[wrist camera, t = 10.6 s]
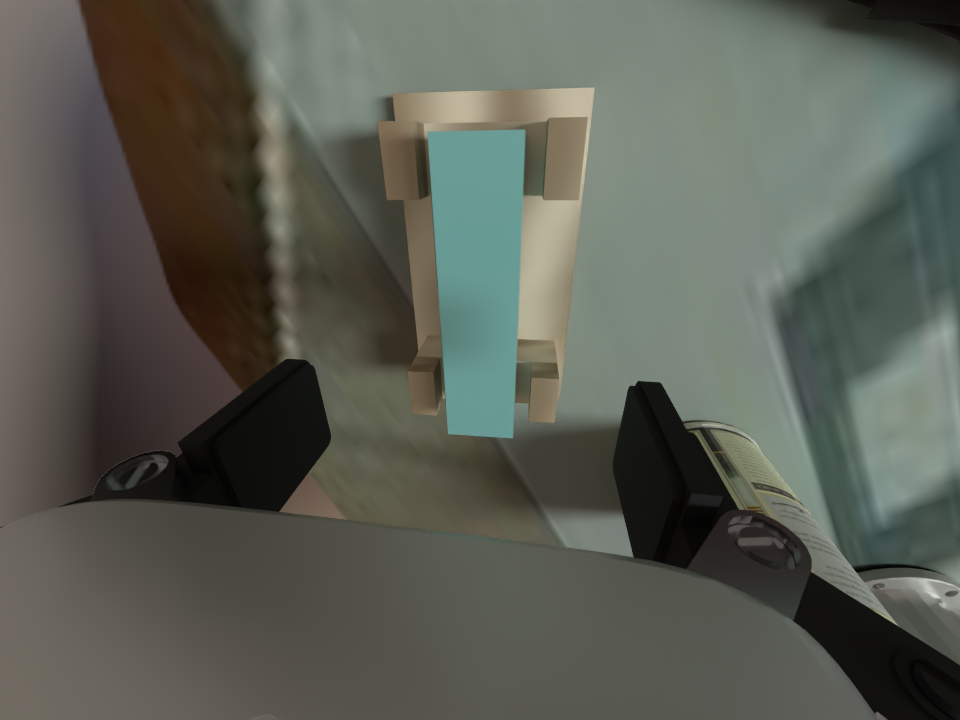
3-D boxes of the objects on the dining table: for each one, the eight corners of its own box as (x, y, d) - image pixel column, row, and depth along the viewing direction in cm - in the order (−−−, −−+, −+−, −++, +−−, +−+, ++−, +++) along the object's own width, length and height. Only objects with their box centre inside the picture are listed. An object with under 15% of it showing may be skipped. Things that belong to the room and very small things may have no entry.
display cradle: (591, 90, 19) (614, 68, 14) (558, 390, 27) (565, 443, 22) (398, 96, 20) (353, 77, 15) (425, 382, 29) (403, 432, 24)
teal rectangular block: (525, 134, 17) (525, 129, 13) (515, 395, 23) (512, 438, 20) (445, 135, 17) (423, 131, 14) (457, 392, 24) (445, 433, 20)
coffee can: (701, 530, 33) (803, 755, 21) (598, 486, 32) (641, 697, 19) (796, 453, 28) (1006, 690, 16) (678, 398, 27) (803, 607, 14)
